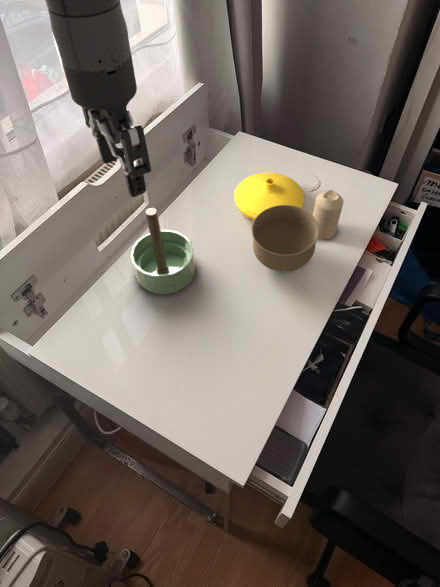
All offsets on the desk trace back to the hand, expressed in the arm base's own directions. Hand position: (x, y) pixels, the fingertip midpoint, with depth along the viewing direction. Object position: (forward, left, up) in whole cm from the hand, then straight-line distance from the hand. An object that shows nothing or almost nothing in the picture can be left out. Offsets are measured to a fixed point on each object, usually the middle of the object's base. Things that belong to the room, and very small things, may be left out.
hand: (123, 176), depth 59 cm
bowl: (+27, -5, -31) cm, 41 cm away
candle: (+40, -3, -31) cm, 50 cm away
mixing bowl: (+6, +6, -31) cm, 32 cm away
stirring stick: (+5, +6, -30) cm, 31 cm away
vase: (+35, +10, -31) cm, 48 cm away
